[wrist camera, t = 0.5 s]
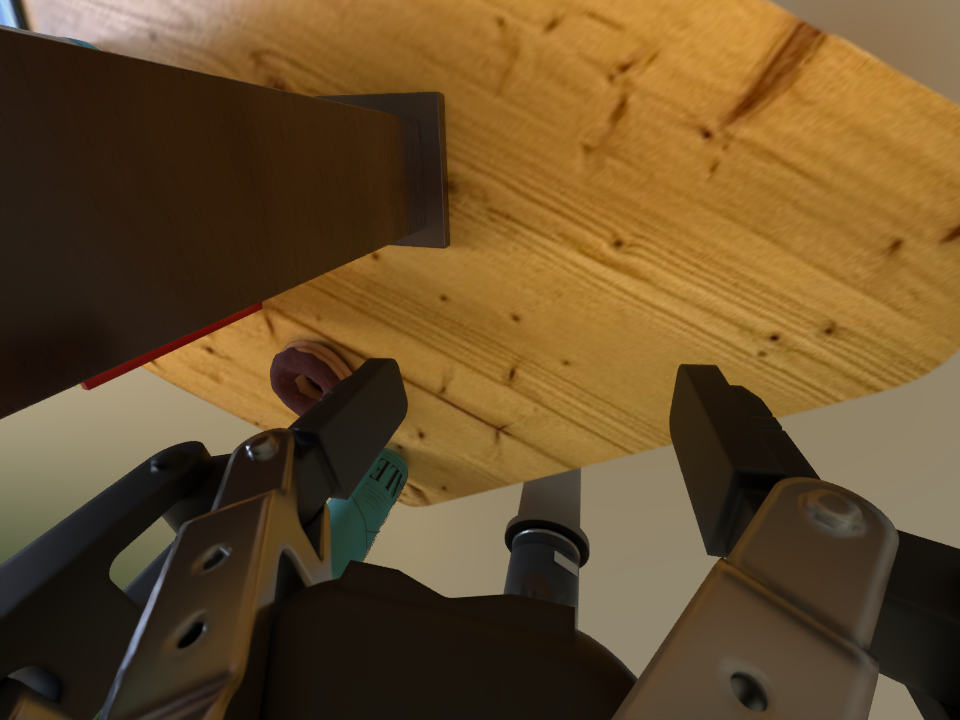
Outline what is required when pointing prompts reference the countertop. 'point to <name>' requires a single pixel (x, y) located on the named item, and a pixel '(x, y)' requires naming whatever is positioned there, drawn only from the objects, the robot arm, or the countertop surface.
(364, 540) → the beverage bottle
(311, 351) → the donut
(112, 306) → the stand
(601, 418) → the countertop surface
